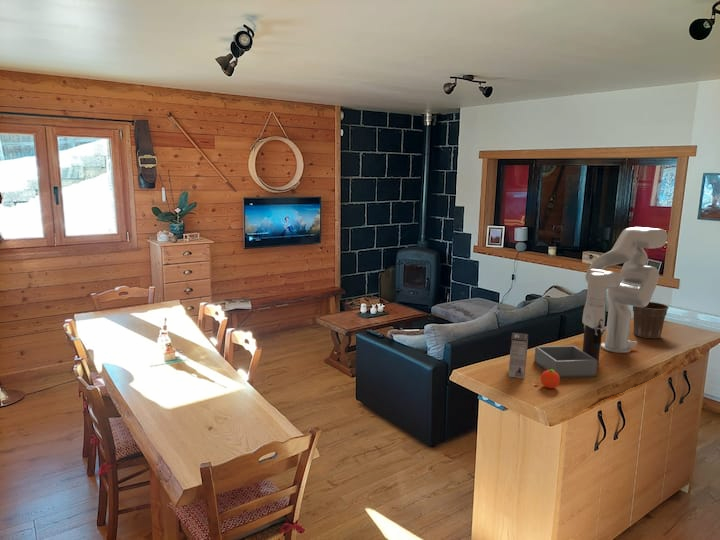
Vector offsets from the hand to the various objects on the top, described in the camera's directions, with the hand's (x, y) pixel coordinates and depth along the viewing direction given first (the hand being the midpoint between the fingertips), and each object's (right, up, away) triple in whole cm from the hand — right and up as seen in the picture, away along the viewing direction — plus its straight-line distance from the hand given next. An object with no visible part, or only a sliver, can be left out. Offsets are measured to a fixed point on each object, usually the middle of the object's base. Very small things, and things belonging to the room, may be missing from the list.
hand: (592, 340), depth 224 cm
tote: (-16, -11, -10) cm, 22 cm away
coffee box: (-38, -12, -15) cm, 42 cm away
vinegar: (0, -9, +2) cm, 9 cm away
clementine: (-29, -14, -28) cm, 43 cm away
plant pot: (+45, -3, +38) cm, 59 cm away
